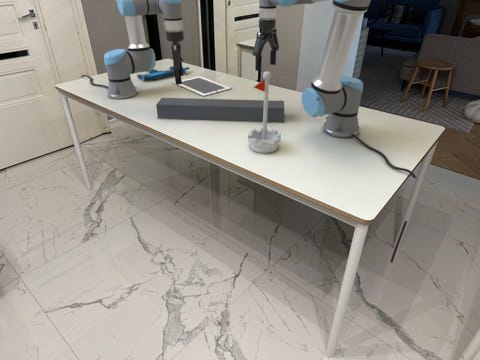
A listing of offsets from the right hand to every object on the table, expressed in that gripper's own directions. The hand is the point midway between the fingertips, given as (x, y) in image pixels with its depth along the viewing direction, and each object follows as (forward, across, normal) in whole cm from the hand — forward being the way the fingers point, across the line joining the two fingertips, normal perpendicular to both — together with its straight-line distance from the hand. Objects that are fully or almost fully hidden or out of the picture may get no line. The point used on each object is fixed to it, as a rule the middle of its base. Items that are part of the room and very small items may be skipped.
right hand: (265, 67), depth 162 cm
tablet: (+20, -10, -50) cm, 54 cm away
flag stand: (+21, +37, +22) cm, 47 cm away
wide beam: (+20, +21, -12) cm, 31 cm away
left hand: (+4, +29, -30) cm, 41 cm away
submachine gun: (+20, -15, -87) cm, 91 cm away
